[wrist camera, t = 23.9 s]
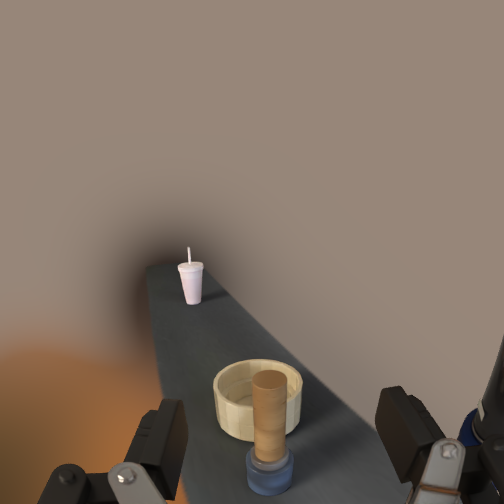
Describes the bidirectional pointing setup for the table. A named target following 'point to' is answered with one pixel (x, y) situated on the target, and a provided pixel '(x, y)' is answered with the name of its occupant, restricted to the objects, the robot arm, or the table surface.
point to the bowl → (240, 396)
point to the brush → (269, 436)
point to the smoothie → (191, 280)
